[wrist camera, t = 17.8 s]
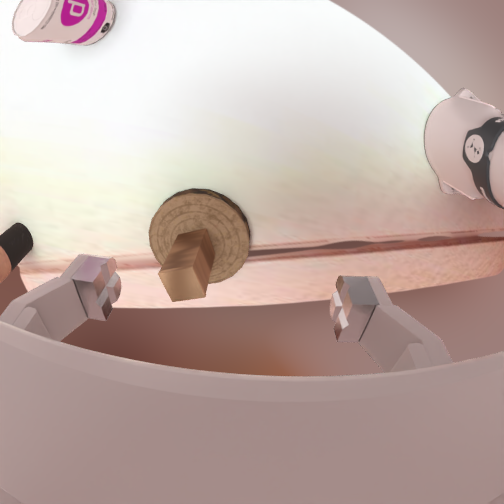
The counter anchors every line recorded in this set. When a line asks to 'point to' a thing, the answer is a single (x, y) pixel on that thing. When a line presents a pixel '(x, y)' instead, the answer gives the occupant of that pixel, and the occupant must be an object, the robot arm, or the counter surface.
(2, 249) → the travel mug
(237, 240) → the wood slice
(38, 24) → the supplement can
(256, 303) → the counter surface
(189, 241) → the walnut block
